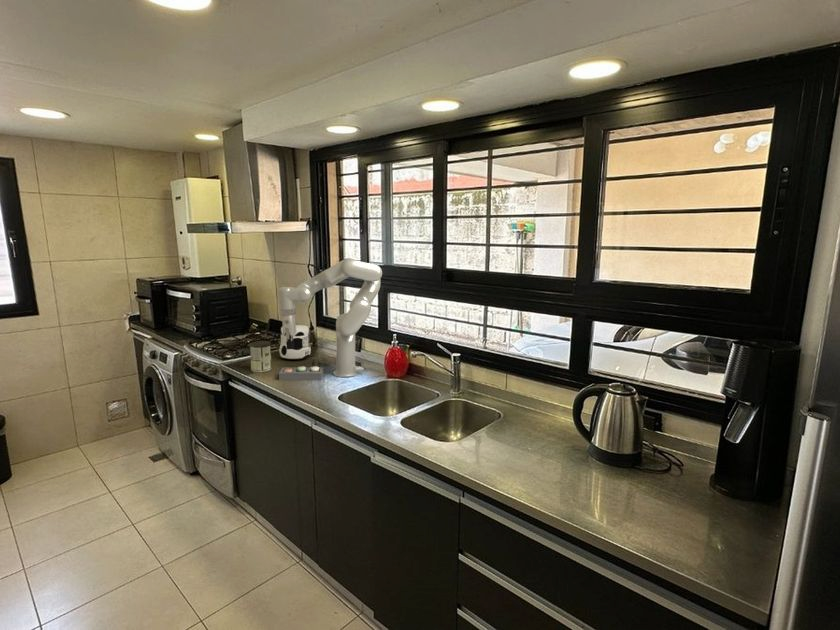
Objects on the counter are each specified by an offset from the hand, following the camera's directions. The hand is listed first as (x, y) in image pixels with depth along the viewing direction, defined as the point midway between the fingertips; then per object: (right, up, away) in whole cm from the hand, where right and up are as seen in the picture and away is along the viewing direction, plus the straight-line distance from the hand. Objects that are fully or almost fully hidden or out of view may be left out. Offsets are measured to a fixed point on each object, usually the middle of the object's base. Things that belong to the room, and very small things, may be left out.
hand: (290, 348), depth 213 cm
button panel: (+5, -14, +3) cm, 15 cm away
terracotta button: (-2, -13, +2) cm, 13 cm away
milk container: (-8, -8, +36) cm, 38 cm away
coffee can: (-19, -12, +13) cm, 26 cm away
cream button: (+11, -12, +3) cm, 16 cm away
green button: (+5, -12, +3) cm, 13 cm away
